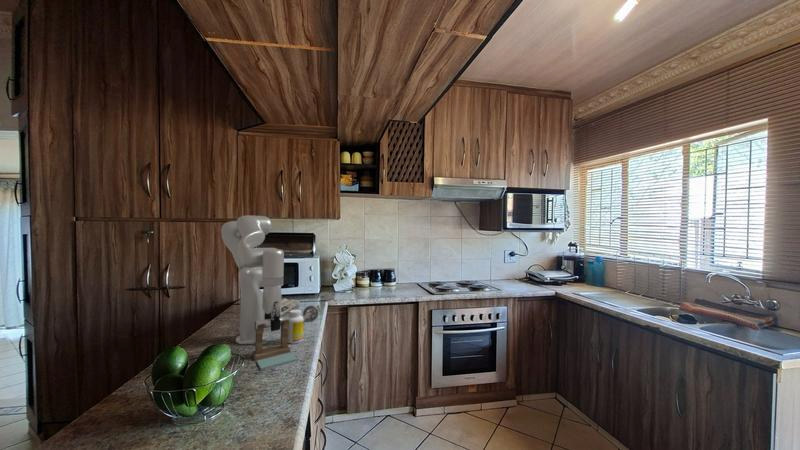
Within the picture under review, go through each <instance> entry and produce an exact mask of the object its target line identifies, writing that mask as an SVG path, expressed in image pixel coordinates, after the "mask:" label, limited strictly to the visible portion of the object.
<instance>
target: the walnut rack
mask: <svg viewBox="0 0 800 450" xmlns="http://www.w3.org/2000/svg"><path fill="white" fill-rule="evenodd" d="M288 328H289V319H288V320H283V325H280V344H277V345H273V346H272V345H271V346H268V347H264V348H263V333H264V324H260V325H258V327H257V329H256V321H255V331H256V340H255V343H254V345H255V348H254V350H252V356H253V358H254V360H255V361H256V362H257V360H261V359H266V358H270V357H274V356H278V355H282V354H286V353H290V352H291V348H290V347H289V345H288V342H287V336H288Z"/></svg>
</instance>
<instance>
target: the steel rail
mask: <svg viewBox="0 0 800 450" xmlns="http://www.w3.org/2000/svg"><path fill="white" fill-rule="evenodd" d="M288 317H289V316H288V315H284V316H283V315H282V316H280V325H283V320H288ZM271 320H272V318H271V319H265V320H259V321H256V329H257V327H258V325H260V324H264V328H265V329H266V328H271Z"/></svg>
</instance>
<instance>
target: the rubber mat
mask: <svg viewBox="0 0 800 450" xmlns="http://www.w3.org/2000/svg"><path fill="white" fill-rule="evenodd" d="M297 361H298V358H297V357H296V356H295V354H294V353H293V352H292V351H290V352H289V353H285V354H281V355H277V356H273V357H269V358H265V359H261V360H257V361H256V363H257V365H258V367H259V369H260V371H264V370H267V369H271V368H274V367H278V366H281V365H285V364H289V363H292V362H297Z"/></svg>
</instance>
